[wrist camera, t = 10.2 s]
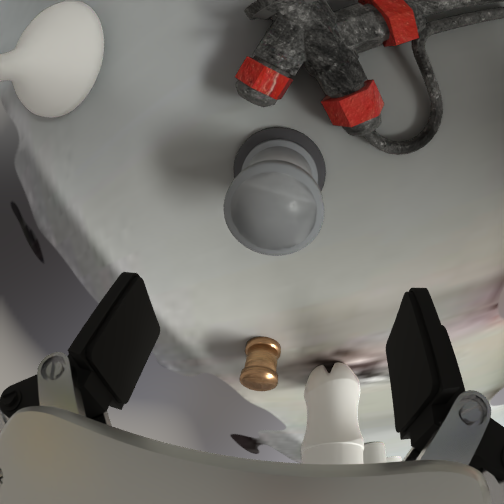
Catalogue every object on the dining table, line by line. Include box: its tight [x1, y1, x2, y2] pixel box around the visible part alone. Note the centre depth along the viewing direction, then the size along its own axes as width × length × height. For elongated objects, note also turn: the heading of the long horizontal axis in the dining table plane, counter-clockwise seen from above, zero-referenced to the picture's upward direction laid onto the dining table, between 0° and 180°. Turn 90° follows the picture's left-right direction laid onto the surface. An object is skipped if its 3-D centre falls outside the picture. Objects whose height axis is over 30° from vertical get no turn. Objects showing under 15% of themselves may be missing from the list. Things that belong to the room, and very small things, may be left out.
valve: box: [235, 0, 504, 155], centre depth 15 cm, size 6×26×15 cm
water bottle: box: [301, 362, 364, 464], centre depth 26 cm, size 7×7×25 cm
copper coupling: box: [240, 337, 281, 391], centre depth 33 cm, size 4×4×5 cm
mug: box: [363, 442, 387, 464], centre depth 48 cm, size 10×7×12 cm, turn 35°
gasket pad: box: [234, 127, 326, 191], centre depth 23 cm, size 7×7×1 cm
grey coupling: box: [224, 138, 324, 256], centre depth 20 cm, size 6×6×7 cm
